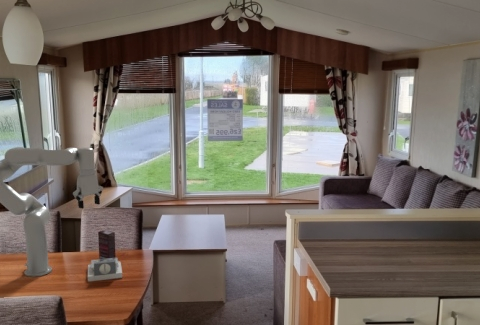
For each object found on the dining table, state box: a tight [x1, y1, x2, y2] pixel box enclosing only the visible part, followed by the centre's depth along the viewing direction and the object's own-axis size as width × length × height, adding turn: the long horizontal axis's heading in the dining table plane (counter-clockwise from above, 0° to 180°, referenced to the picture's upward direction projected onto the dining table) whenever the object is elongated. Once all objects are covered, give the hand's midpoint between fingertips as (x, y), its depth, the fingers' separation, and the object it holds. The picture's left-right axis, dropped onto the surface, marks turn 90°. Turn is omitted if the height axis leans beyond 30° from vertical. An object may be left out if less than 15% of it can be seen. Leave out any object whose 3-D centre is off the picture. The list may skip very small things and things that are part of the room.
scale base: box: [87, 260, 123, 282], centre depth 218 cm, size 16×16×8 cm
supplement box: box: [97, 229, 116, 259], centre depth 236 cm, size 9×5×16 cm, turn 55°
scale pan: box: [90, 257, 119, 270], centre depth 220 cm, size 11×13×1 cm
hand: (89, 206), depth 219 cm, fingers open, 9 cm apart
